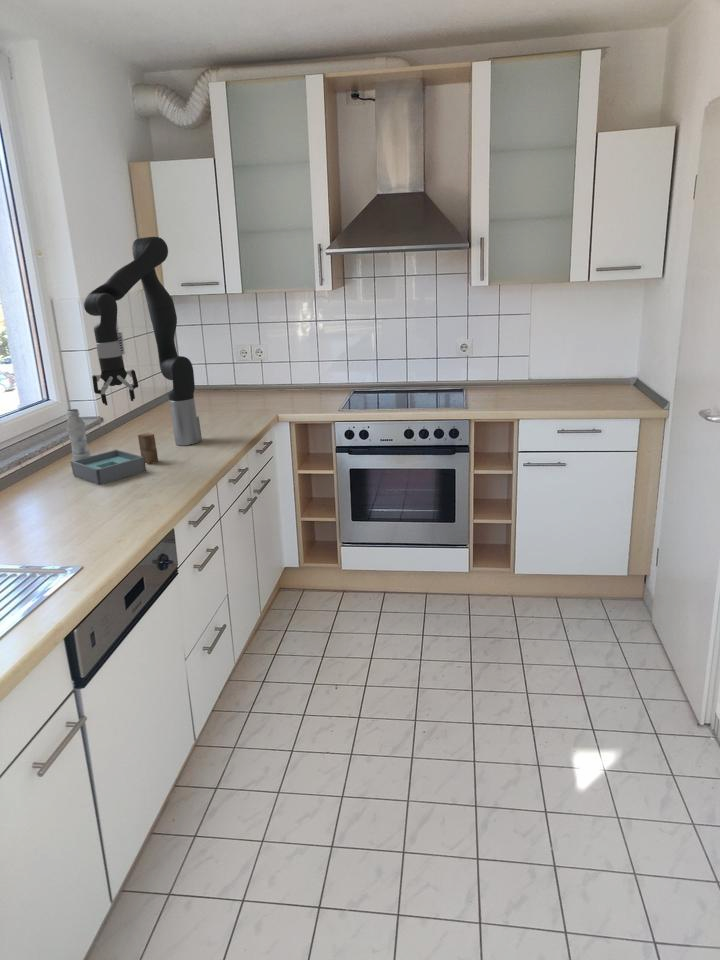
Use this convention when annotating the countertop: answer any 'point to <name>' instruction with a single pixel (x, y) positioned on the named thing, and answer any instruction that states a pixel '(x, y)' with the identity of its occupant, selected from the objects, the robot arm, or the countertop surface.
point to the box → (108, 466)
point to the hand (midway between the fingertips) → (119, 402)
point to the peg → (148, 447)
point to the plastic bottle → (77, 435)
